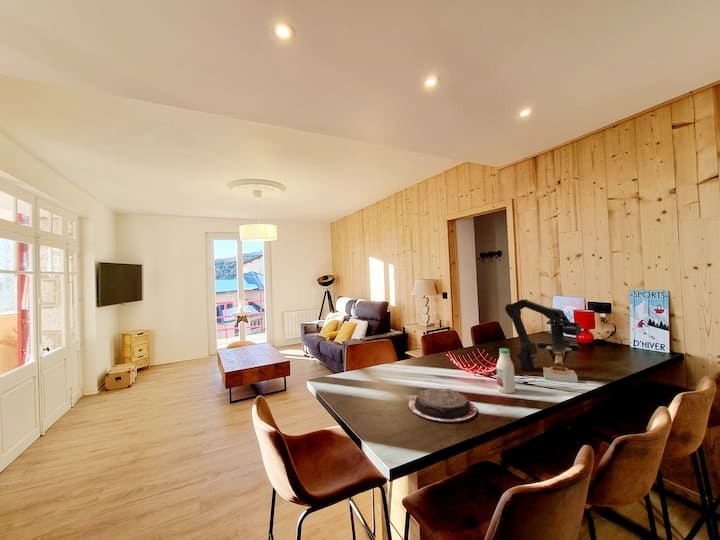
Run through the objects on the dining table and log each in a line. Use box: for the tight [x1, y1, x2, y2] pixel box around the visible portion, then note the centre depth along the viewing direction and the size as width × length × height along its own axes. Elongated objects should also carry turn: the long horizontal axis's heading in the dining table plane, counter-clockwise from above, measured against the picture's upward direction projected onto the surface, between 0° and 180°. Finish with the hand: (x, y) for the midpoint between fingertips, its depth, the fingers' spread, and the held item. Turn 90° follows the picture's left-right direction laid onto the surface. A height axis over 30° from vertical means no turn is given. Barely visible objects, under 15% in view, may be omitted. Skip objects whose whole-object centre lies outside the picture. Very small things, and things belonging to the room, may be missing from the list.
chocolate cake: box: [408, 388, 477, 424], centre depth 123 cm, size 28×28×7 cm
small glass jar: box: [553, 351, 564, 366], centre depth 155 cm, size 4×4×6 cm
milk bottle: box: [496, 347, 516, 394], centre depth 140 cm, size 8×8×20 cm
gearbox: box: [542, 366, 579, 384], centre depth 154 cm, size 14×10×5 cm
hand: (558, 362), depth 155 cm, fingers closed on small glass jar, 4 cm apart
